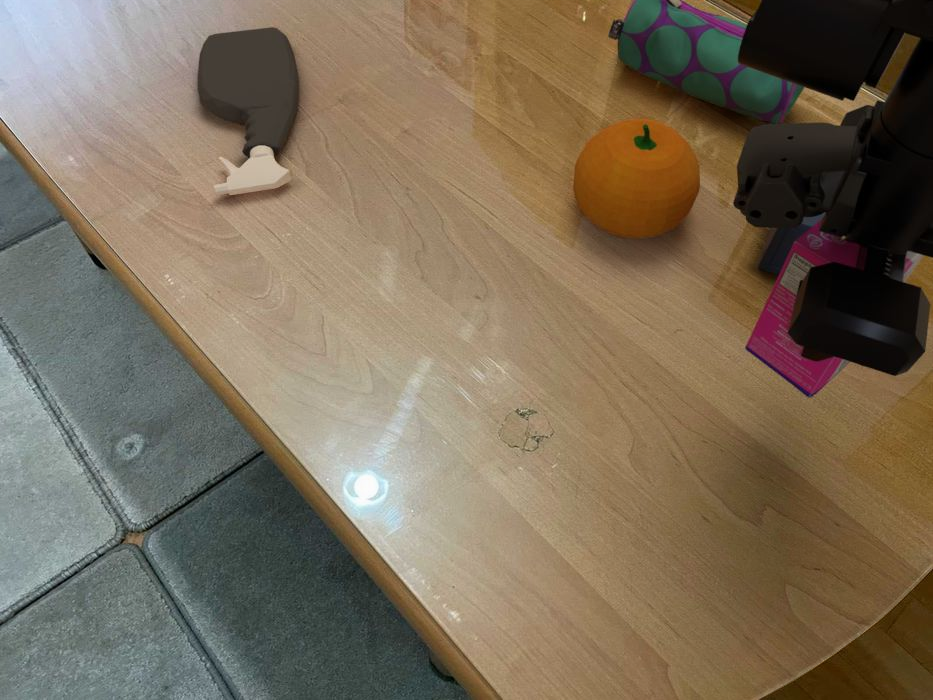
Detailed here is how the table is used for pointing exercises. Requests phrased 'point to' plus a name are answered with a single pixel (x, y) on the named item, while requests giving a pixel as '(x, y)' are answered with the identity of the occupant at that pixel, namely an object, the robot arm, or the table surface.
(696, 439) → the table surface
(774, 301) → the supplement box
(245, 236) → the table surface
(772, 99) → the pencil case
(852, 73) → the robot arm
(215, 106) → the spray bottle
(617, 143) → the fruit
